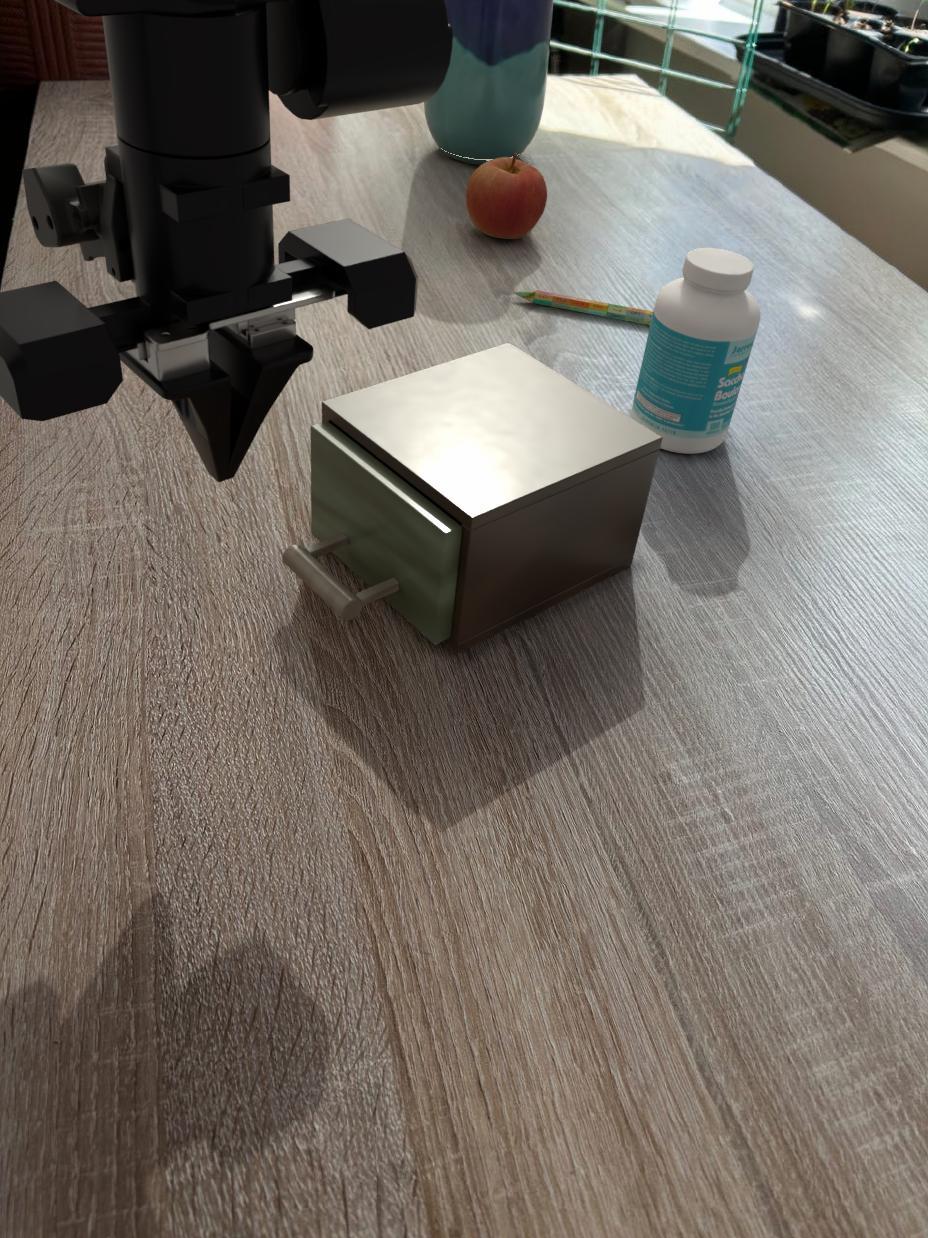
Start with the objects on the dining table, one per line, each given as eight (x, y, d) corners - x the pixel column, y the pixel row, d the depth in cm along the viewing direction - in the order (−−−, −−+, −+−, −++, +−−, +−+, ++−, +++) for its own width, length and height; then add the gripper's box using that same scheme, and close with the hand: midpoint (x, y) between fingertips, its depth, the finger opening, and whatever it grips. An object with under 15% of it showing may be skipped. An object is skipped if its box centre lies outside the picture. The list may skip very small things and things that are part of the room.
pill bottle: (717, 468, 78) (767, 292, 69) (619, 443, 79) (656, 268, 70) (731, 420, 83) (779, 252, 75) (639, 398, 85) (676, 230, 76)
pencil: (510, 301, 96) (708, 338, 94) (511, 289, 95) (711, 326, 93) (513, 295, 97) (709, 331, 95) (514, 283, 96) (712, 320, 94)
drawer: (375, 675, 57) (380, 561, 52) (253, 556, 64) (247, 445, 59) (602, 562, 67) (625, 457, 62) (475, 469, 73) (486, 367, 68)
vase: (396, 151, 124) (410, -182, 104) (464, 127, 133) (489, -184, 113) (495, 183, 119) (530, -161, 98) (558, 156, 128) (603, -165, 107)
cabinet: (456, 655, 60) (472, 518, 54) (321, 534, 68) (321, 401, 62) (631, 566, 68) (663, 437, 62) (493, 466, 75) (508, 341, 69)
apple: (543, 224, 111) (553, 144, 106) (539, 253, 105) (551, 170, 100) (466, 214, 111) (474, 134, 106) (459, 243, 105) (466, 160, 100)
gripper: (287, 55, 50) (293, 358, 60) (-136, 102, 40) (-42, 454, 50) (435, 126, 44) (414, 449, 54) (-20, 201, 34) (60, 579, 44)
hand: (220, 476), depth 51 cm, fingers closed
